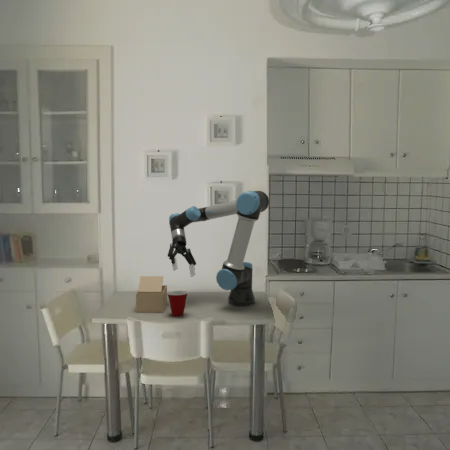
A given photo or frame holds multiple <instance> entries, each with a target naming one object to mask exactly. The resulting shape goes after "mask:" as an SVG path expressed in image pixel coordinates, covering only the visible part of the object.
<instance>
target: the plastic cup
mask: <svg viewBox="0 0 450 450" xmlns="http://www.w3.org/2000/svg"><path fill="white" fill-rule="evenodd" d="M188 294H189V291H186V290H173V291H167V298H168V300H169V307H170V311H171V313H170V314H171V315H172V316H173V317H182V316H184V314H185V309H186V302H187V297H188Z"/></svg>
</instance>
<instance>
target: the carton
mask: <svg viewBox="0 0 450 450" xmlns="http://www.w3.org/2000/svg"><path fill="white" fill-rule="evenodd" d="M167 292H168V285H167V284H166V285H163V284H162V292H138V290H137V291H136V293H135V300H136V301H135V312H136V313H164V312H165V309H166V306H167V305H168V304H167V303H168V294H167Z"/></svg>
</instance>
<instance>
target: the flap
mask: <svg viewBox="0 0 450 450" xmlns="http://www.w3.org/2000/svg"><path fill="white" fill-rule="evenodd" d="M163 282H164V275H163V276H156V275H155V276H145V275H143V276H142V275H141V276H140V277H139V284H138V289H137V291H138V292H162V285H163Z"/></svg>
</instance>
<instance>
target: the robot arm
mask: <svg viewBox="0 0 450 450" xmlns="http://www.w3.org/2000/svg"><path fill="white" fill-rule="evenodd" d="M269 206H270V198H269V196H268V195H267V193H266V192H264V191H262V190H247V191H244V192H242V193H240V194H239V195H238V196H237V198H236V200H231V201H227V202H223V203H218V204H214V205H213V204H212V205H210V206H209V205H208V206H205V207H200V208H198V207H196V205H195V206H190V207H188V208H186V210H184V211H183V212H181V213H178V212H175V213H171V215H169V217H168V222H169V228H170V234H171V240H172V242H171V243H170V244H169V250H168V253H167V257H168V259H169V260H170V261H171V262H170V263H171V264H172V271H174V272H175V271H176V270H178V269H179V267H178V261H177V257H176V256H177V254H178V255H181V256H182V257H183V258H184V259H185V260H186V262H187V263H188V267H189V268H188V269H189V275H190V277H195V276H196V271H195V270H196V269H195V266H196V265H197V262H196V260H195V258H194V256H193V254H192V251H191V248H187V247H186V246H187V237H186V232H185V227H187V226H189V225H190V224H193V223H199V222H205V221H209V220H214V219H219V218H223V217H229V216H233V215H237V217H238V218H237V223H236V226H235V230H234V233H233V238H232V241H231V245H230V249H229V252H228V255H227V259H226V260H224V261H223V263H222V266H221V269H220V270H218V271H217V272H216V276H215V280H216V283H217V284H218V286H219V287H220V288H221V289H222V290H225V291H229V295H228V297H227V298H228V299H227V303H229V304H230V305H234V306H241V305H244V306H251V305H250V304H252V305H254V304H255V303H256V298H255V295H254V291H253V264H252V263H251V262H246V261H245V258H246V254H247V249H248V246H249V244H250V239H251V236H252V232H253V228H254V225H255V223H256V221H257V222H258V220H259V218H260V215H261V213H263V212H265V211H267V209H268V208H269ZM253 303H254V304H253Z"/></svg>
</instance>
